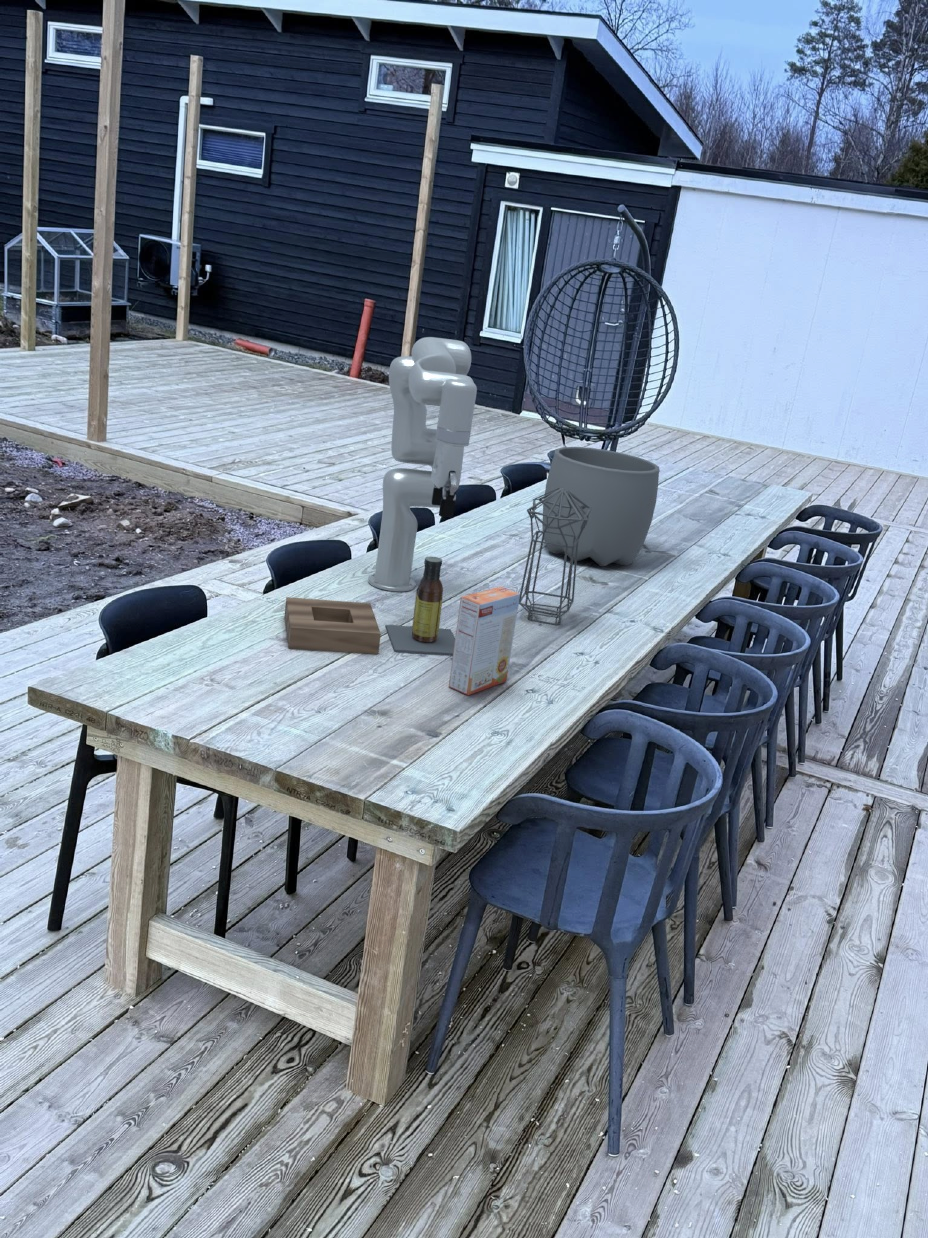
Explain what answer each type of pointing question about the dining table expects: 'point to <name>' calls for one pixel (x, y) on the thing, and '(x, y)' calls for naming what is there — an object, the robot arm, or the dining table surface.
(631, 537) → the planter pot
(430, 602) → the sauce bottle
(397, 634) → the rubber mat
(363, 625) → the holder block
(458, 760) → the dining table surface
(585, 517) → the geometric lantern
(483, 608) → the cracker box
